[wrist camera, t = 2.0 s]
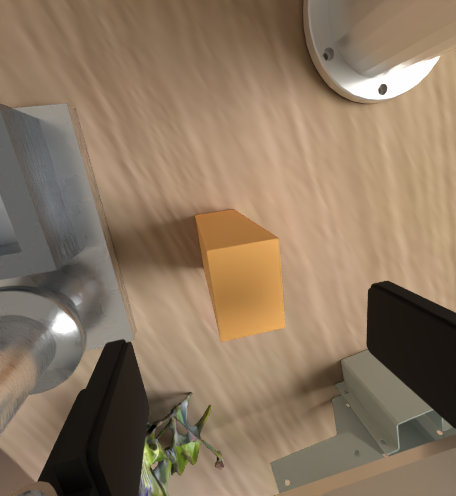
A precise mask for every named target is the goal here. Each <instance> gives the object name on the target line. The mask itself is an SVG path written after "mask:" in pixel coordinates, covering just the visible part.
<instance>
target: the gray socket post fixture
mask: <svg viewBox="0 0 456 496" xmlns="http://www.w3.org/2000/svg"><path fill="white" fill-rule="evenodd" d="M135 334H136V327H135V324H134V320H133V316H132V313H131V309H130V305H129V302H128V298H127V294H126V291H125V287H124V284H123V280H122V276H121V273H120V269H119V265H118V262H117V258H116V255H115V251H114V247H113V244H112V240H111V236H110V233H109V229H108V225H107V222H106V218H105V215H104V211H103V207H102V204H101V200H100V196H99V193H98V189H97V185H96V182H95V178H94V175H93V171H92V167H91V164H90V160H89V156H88V153H87V149H86V146H85V142H84V138H83V135H82V131H81V127H80V124H79V120H78V116H77V113H76V109H75V108H73V107H72V106H70V105H68V104H67V103H64V104H53V105H42V106H31V107H20V108H10V107H8V106H5V105H3V104H0V436H1V434H2V433H3V432H4V430H5V429H6V427H7V426H8V424H9V423H10V421H11V420H12V419H13V417H14V416H15V414H16V413H17V411H18V410H19V409H20V407H21V406H22V404H23V403H24V401H25V400H26V398H27V397H28V396H29V395H32V394H37V393H41V392H44V391H47V390H50V389H52V388H54V387H56V386H58V385H59V384H61V383H62V382H64V381H65V380H66V379H67V378H68V377H69V376H70V375H71V374H72V373H73V372H74V370H75V369H76V367H77V366H78V364H79V362H80V360H81V358H82V356H83V354H84V352H85V351H86V350H91V349H96V348H100V347H104V346H105V344H106V343H108V342H112V341H116V340H121V339H125V341H126V342H129V341H133V340H134V337H135Z"/></svg>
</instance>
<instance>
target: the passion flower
mask: <svg viewBox="0 0 456 496" xmlns="http://www.w3.org/2000/svg"><path fill="white" fill-rule="evenodd" d="M191 395H192V392H190V394H189V395H188V396H187V397H186V398H185V400H184V401H183V402H182V403H179V404H178V405H177V406H174V407H173V409H172V410H171V413H170V414H169V415H168V416H166V417H165V418H164V419H162V420H159V421H155V422H153V423H149V422H148V423H147V431H146V439H145V447H144V455H143V463H142V471H141V478H140V486H139V494H138V496H169V495H168V492H167V485H168V480H169V475H170V470H171V475H173V474H174V473H175V472H177V473H178V474H179V475H181V474H182V473H183V471H184V468H185V465H186V464H187V463H188V461H189V462H190V463H191V464H192V465H194V464H195V463H196V461H197V457H198V453H199V448H200V444H204V445H205V446H206V447H207V448H208V449H210V450H211V451H212V452H213V453H214V454H215V455H216V456H217V462H216V463H215V467H216V468H218V469H220V470H221V469H222V468H223V467H224V462H223V459H222V455H221V453H220V451H216V450H215V449H213V448H212V447H211V446H210V445H209V444H208V443H206V442H205V441H204V440H202V439H201V437H200V432H201V430H202V427H203V425H204V423H205V422H206V420H207V418H208V416H209V414H210V410H211V406H210V405H209V407H208V408H207V410H206V411H205V413H204V415H203V417H202V418H201V419H200V421H199V422H198V423H197V424H196V425H194V427H191V426H189V425H188V422H187V414H188V410H187V408H188V401H189V398H190V396H191ZM169 419H170V420H169ZM167 420H169V422H168V423H167V425H166V426H165V427H164V429H163V430H162V431H161V432H160V434H159V435H158V437H157V438H156V439H155V430H156V428H157V427H159V426H160V425H161V424H163V423H165V422H166V421H167ZM177 420H178V421H180V422H181V423H182V424H183V425H184V427H185V428H186V429H187V431H188V433H187V434H186V435H185V436H184V435H179V434H178V433H177V431H176V422H177ZM168 429H171V430H172V431H173V441H172V444H171V445H170V446H169V447H166V448H165V449H163V447H162V446H161V445H160V444H159V442H158V439H159V438H160V436H161V435H162V434H163V433H164V432H165V431H167V430H168ZM156 461H158V462H159V463H158V465H157V467H156V468H155V469H154V470H152V468H151V465H152V464H154V463H155V462H156Z"/></svg>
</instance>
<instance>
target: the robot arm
mask: <svg viewBox="0 0 456 496" xmlns="http://www.w3.org/2000/svg"><path fill="white" fill-rule="evenodd" d="M303 24H304V33H305V38H306V43H307V47H308V50H309V53H310V56H311V59H312V62H313V64H314V65H315V67H316V69H317V71H318V72H319V74H320V76H321V77H322V78H323V80H324V81H325V82H326V83H327V84H328V86H329V87H330V88H332V89H333V90H334V91H335V92H337V93H338V94H339V95H341V96H343V97H345V98H347V99H349V100H351V101H354V102H360V103H365V104H366V103H379V102H383V101H386V100H390V99H392V98H395V97H397V96H399V95H402V94H404V93H406V92H407V91H409V90H410V89H412V88H413V87H415V86H416V85H417V84H418V83H419V82H420V81H421V80H422V79H424V78H425V77H426V76H427V74H428V73H429V72H430V71H431V69H432V68H433V67H434V65H435V64H436V63H437V61H438V59H439V58H440V56H441V55H442V54H444V53H446V52H448V51H451V50H453V49H455V48H456V0H304V4H303ZM324 58H325V59H324ZM367 348H368V350H369V352H370V353H371V354H372V355H373V356H374V357H375V358H376V359H377V360H378V361H380V362H381V363H382V364H383V365H384V366H385V367H386V368H387V369H388V370H390V371H391V372H392V373H393V374H394V375H395V376H396V377H397V378H399V379H400V380H401V381H402V382H403V383H404V384H405V385H406V386H407V387H409V388H410V389H411V390H412V391H413V392H414V393H415V394H416V395H418V396H419V397H420V398H421V399H422V400H423V401H424V402H425V403H426V404H428V405H429V406H430V407H431V408H432V409H433V410H434V411H435V412H436V413H438V414H439V415H440V416H441V417H442V418H443V419H444V420H445V421H447V422H448V423H449V424H450V425H451V426H452V427H454V428H455V429H456V313H455V312H453V311H451V310H449V309H447V308H444V307H442V306H440V305H438V304H436V303H434V302H432V301H430V300H428V299H425V298H423V297H421V296H419V295H417V294H415V293H413V292H411V291H409V290H407V289H404V288H402V287H400V286H398V285H396V284H394V283H392V282H389V281H383V282H379V283H374V284H372V285H371V288H370V289H369V290H368V309H367ZM148 415H149V405H148V399H147V396H146V392H145V389H144V385H143V382H142V378H141V374H140V371H139V367H138V364H137V360H136V356H135V353H134V349H133V346H132V343H131V342H127V343H126V341H125V339H121V340H116V341H112V342H108V343H106V344H105V346H104V349H103V351H102V353H101V356H100V358H99V360H98V362H97V365H96V367H95V369H94V371H93V374H92V376H91V378H90V380H89V383H88V385H87V387H86V389H83V390H82V391H80V393H79V394H78V396H77V398H76V400H75V402H74V404H73V406H72V409H71V411H70V413H69V415H68V417H67V419H66V421H65V424H64V426H63V428H62V430H61V432H60V434H59V436H58V439H57V441H56V443H55V445H54V447H53V449H52V451H51V454H50V456H49V458H48V460H47V462H46V464H45V466H44V468H43V471H42V473H41V475H40V477H39V479H38V481H37V482H34V483H30V484H28V485H25V486H24V487H21V488H19V489H17V490H16V491H14V492H13V493H11V494H10V495H8V496H138V494H139V486H140V478H141V471H142V463H143V455H144V447H145V439H146V431H147V423H148ZM274 496H456V434H454V435H451V436H448V437H445V438H442V439H439V440H436V441H433V442H430V443H427V444H424V445H421V446H418V447H415V448H412V449H409V450H406V451H403V452H400V453H397V454H394V455H391V456H388V457H385V458H383V459H380V460H377V461H374V462H371V463H368V464H365V465H362V466H359V467H356V468H353V469H350V470H347V471H344V472H341V473H338V474H335V475H332V476H329V477H326V478H323V479H321V480H318V481H315V482H312V483H309V484H306V485H303V486H300V487H297V488H294V489H291V490H289V491H286V492H283V493H280V494H277V495H274Z"/></svg>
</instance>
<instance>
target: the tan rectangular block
mask: <svg viewBox="0 0 456 496" xmlns="http://www.w3.org/2000/svg"><path fill="white" fill-rule="evenodd" d="M195 219H196V225H197V231H198V237H199V243H200V249H201V255H202V261H203V267H204V271H205V276H206V280H207V284H208V288H209V293H210V297H211V301H212V305H213V309H214V314H215V318H216V322H217V326H218V331H219V335H220V339H221V342H223V341H227V340H232V339H236V338H241V337H245V336H250V335H254V334H259V333H263V332H268V331H272V330H277V329H281V328H285V318H284V304H283V290H282V275H281V261H280V247H279V238H278V237H276V236H275V235H273V234H272V233H270V232H269V231H267V230H265V229H264V228H262V227H261V226H259V225H258V224H256V223H255V222H253V221H251V220H250V219H248V218H247V217H245V216H244V215H242V214H241V213H239V212H238V211H236V210H234V209H231V210H225V211H219V212H212V213H206V214H199V215H195Z"/></svg>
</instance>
